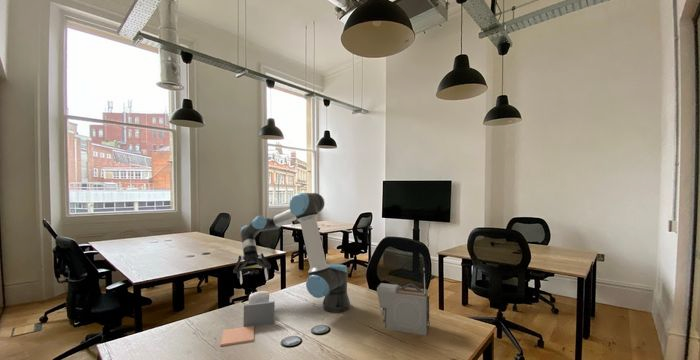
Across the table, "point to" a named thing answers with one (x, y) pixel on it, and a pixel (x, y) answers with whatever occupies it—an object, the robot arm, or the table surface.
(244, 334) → the display pad
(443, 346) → the table surface
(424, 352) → the table surface
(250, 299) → the photo printer
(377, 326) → the table surface
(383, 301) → the portable television
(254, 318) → the screen
